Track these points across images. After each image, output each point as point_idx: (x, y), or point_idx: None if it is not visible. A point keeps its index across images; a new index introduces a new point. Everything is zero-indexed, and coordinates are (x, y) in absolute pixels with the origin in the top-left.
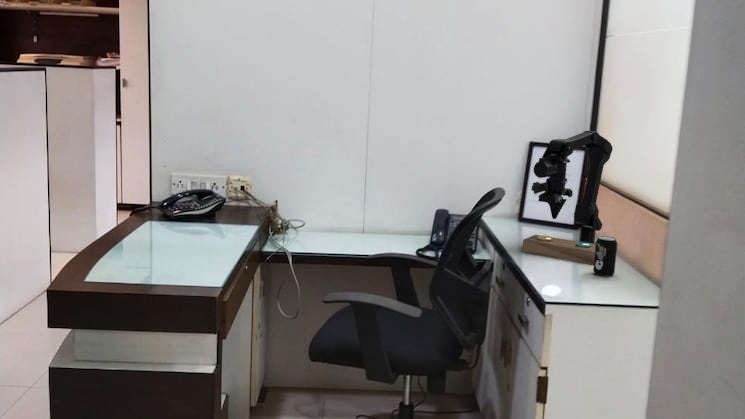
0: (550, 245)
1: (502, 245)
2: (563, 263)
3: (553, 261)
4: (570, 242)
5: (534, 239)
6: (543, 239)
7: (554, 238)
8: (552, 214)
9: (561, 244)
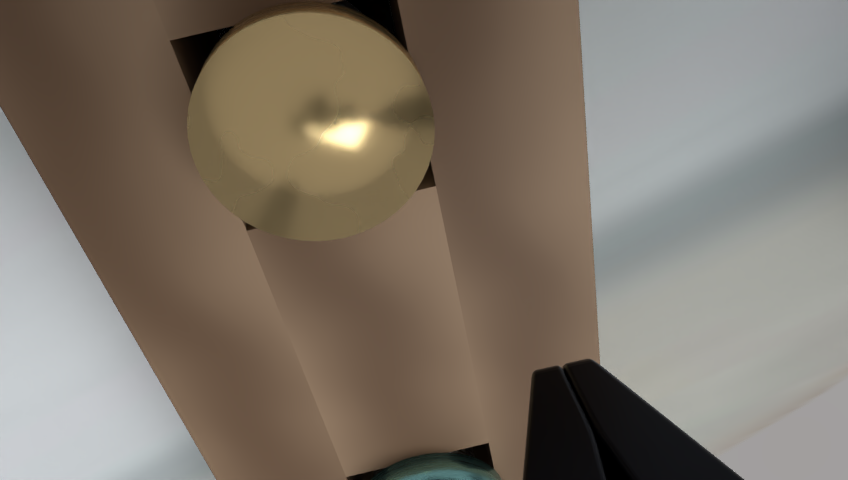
0: (132, 319)
1: None
2: (93, 423)
3: (52, 349)
4: (474, 372)
5: (155, 1)
6: (204, 171)
7: (530, 147)
8: (530, 474)
9: (271, 385)
